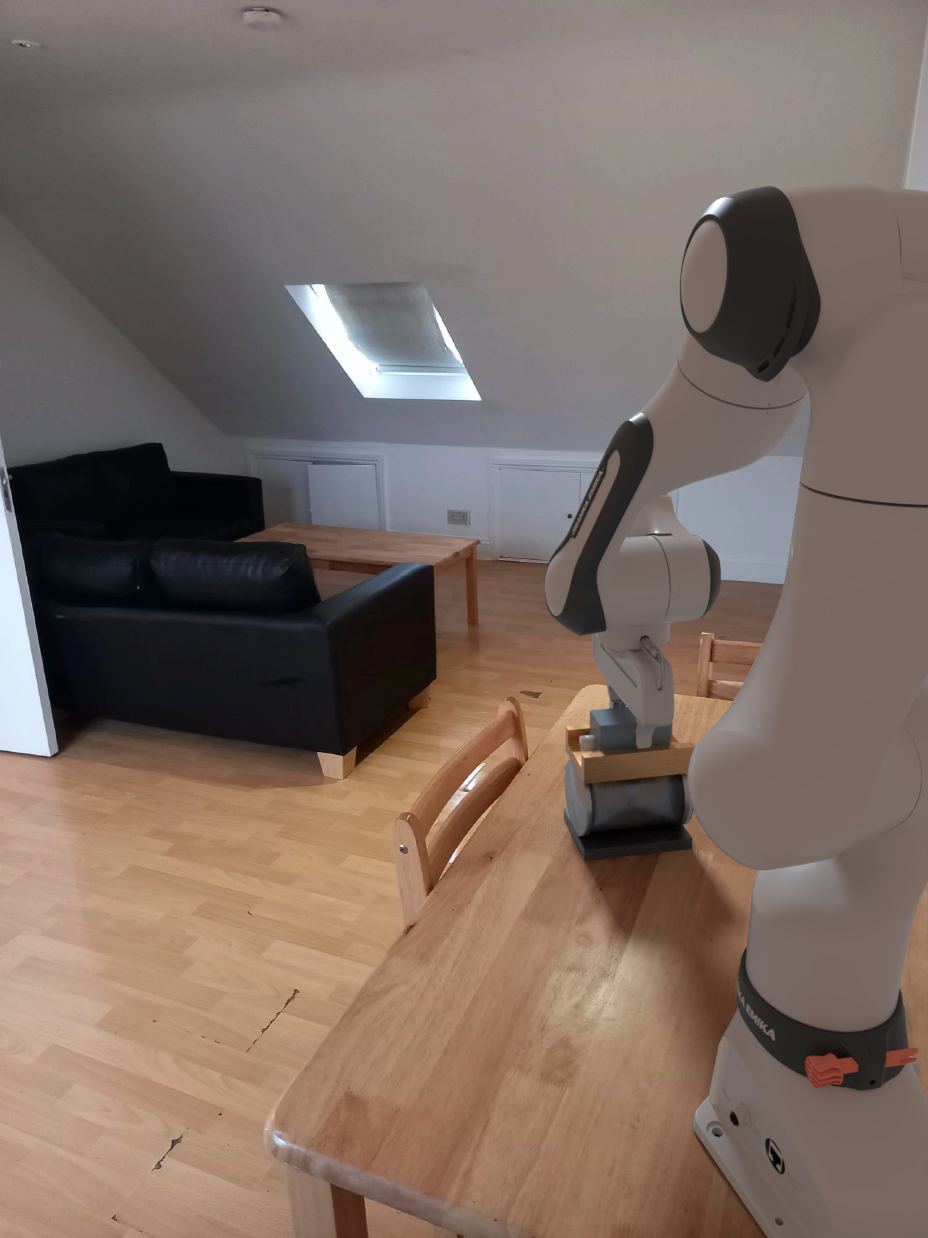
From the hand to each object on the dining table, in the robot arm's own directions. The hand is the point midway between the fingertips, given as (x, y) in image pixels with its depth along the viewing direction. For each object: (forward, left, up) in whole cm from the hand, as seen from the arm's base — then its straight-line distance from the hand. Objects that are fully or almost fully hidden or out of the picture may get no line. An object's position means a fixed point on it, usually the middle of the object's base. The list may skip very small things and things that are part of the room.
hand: (629, 728), depth 106 cm
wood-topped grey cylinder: (0, 0, -15) cm, 15 cm away
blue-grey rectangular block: (0, 0, -3) cm, 3 cm away
